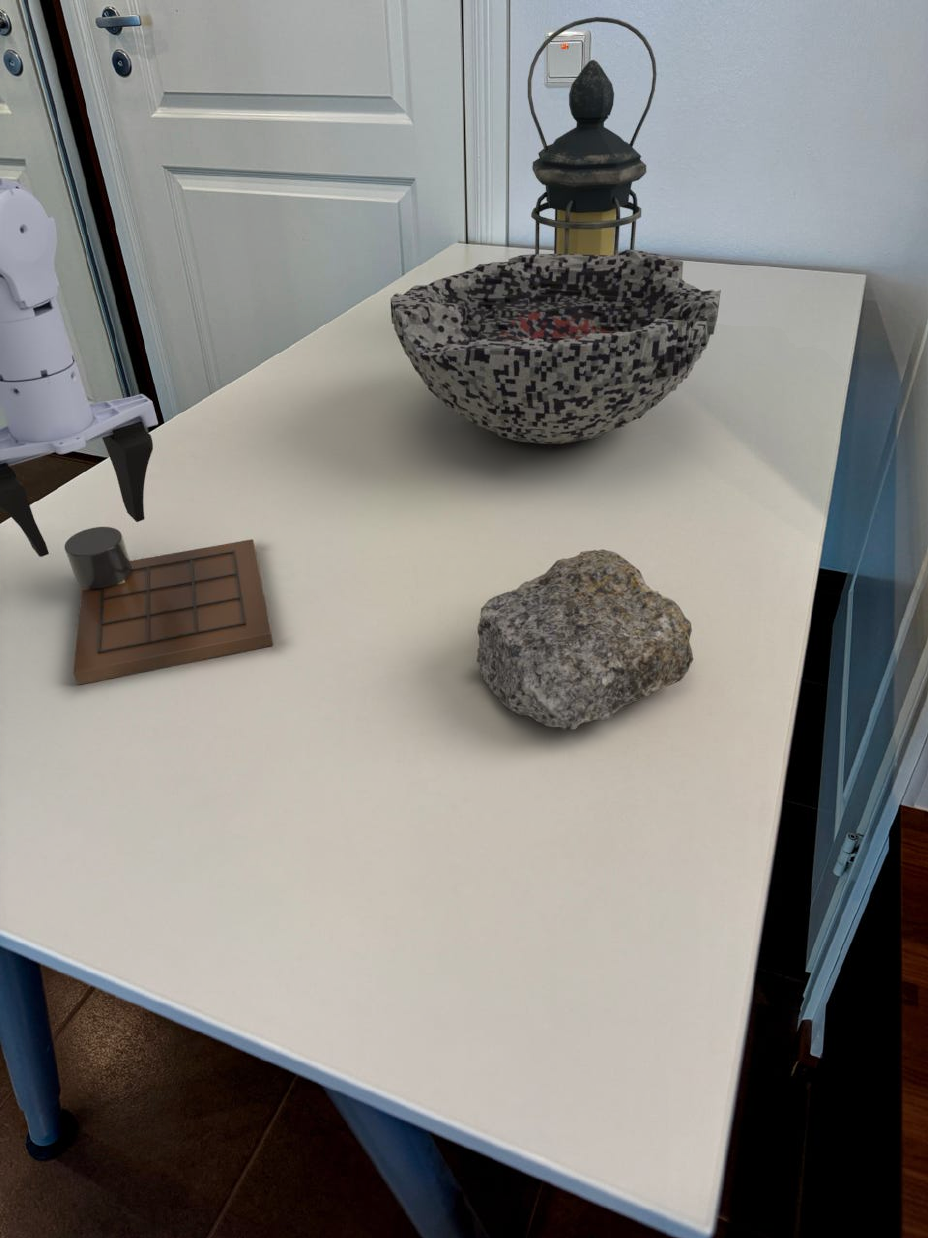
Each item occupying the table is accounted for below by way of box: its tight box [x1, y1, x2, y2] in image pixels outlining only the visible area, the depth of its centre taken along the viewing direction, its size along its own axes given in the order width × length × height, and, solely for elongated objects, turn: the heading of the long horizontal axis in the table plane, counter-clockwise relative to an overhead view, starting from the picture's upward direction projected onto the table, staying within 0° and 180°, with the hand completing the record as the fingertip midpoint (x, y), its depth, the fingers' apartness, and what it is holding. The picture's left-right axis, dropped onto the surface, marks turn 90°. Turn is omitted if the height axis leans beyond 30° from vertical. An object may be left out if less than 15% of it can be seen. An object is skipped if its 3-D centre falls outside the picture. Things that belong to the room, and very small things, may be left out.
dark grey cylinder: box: [64, 526, 132, 589], centre depth 71 cm, size 4×4×3 cm
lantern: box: [527, 16, 658, 255], centre depth 104 cm, size 14×13×35 cm
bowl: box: [389, 248, 722, 445], centre depth 90 cm, size 31×31×15 cm
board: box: [72, 538, 274, 686], centre depth 69 cm, size 14×14×1 cm
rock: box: [476, 549, 694, 730], centre depth 61 cm, size 13×6×15 cm
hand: (89, 532), depth 69 cm, fingers open, 7 cm apart
